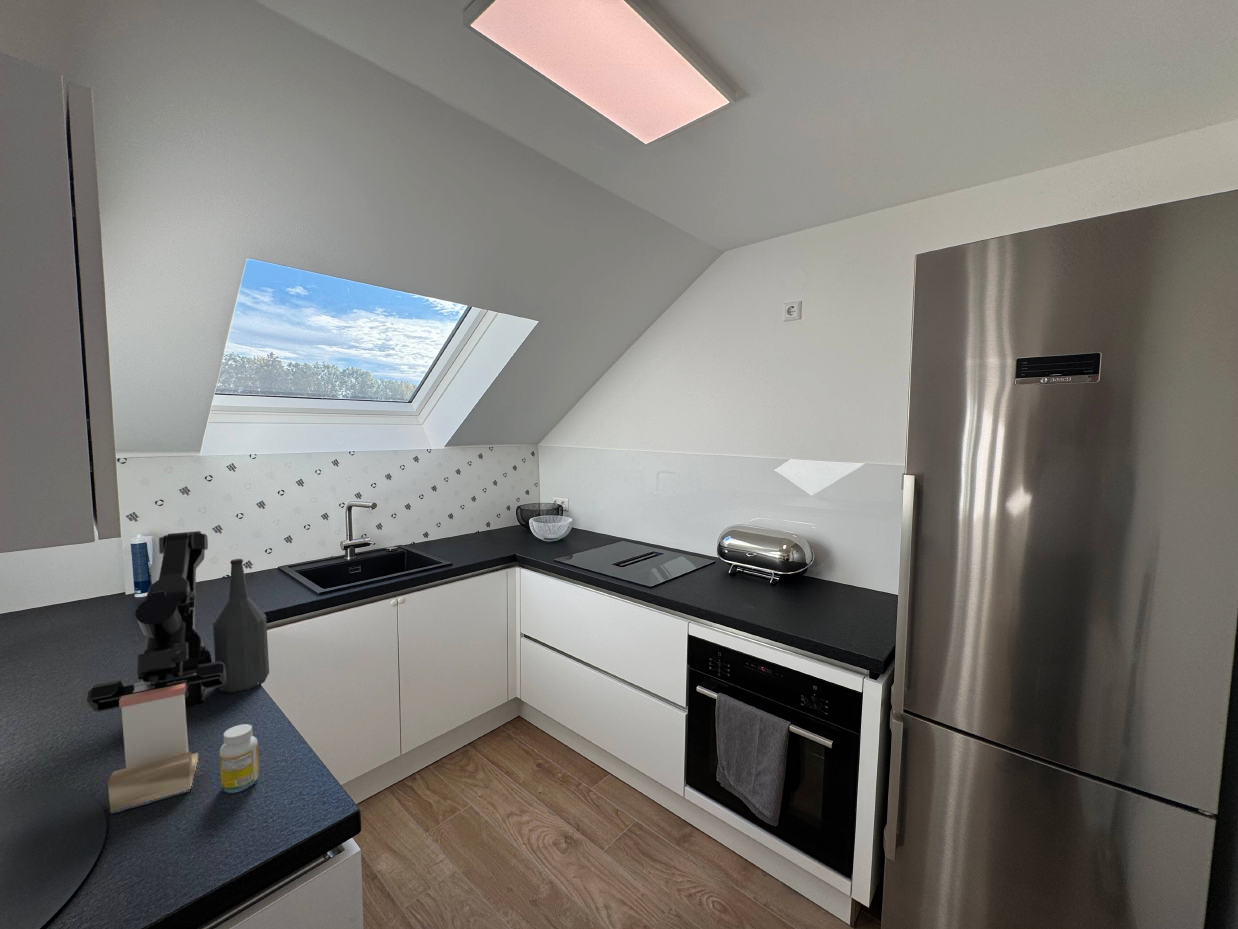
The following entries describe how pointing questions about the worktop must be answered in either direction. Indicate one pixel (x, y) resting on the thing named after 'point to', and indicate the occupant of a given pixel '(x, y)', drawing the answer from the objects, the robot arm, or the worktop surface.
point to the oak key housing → (151, 780)
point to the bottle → (241, 636)
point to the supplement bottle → (239, 758)
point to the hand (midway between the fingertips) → (157, 733)
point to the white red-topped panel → (154, 724)
